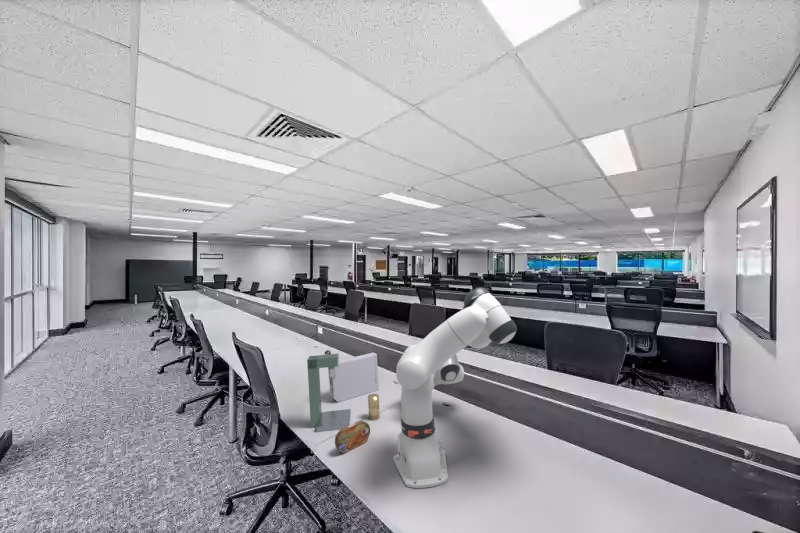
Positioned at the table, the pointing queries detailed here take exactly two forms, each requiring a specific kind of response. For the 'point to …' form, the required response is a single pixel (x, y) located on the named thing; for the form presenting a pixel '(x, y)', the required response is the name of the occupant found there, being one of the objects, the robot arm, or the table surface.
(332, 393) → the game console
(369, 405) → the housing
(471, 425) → the table surface
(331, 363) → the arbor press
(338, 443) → the tin
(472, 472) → the table surface
